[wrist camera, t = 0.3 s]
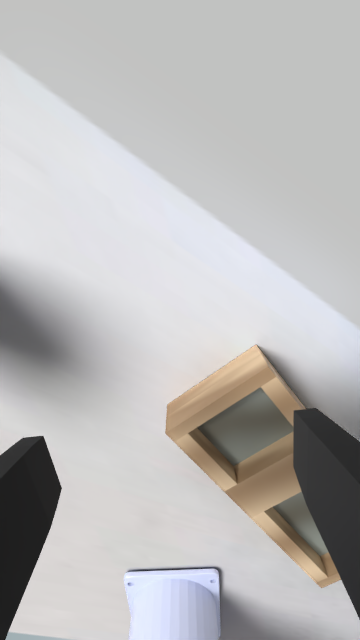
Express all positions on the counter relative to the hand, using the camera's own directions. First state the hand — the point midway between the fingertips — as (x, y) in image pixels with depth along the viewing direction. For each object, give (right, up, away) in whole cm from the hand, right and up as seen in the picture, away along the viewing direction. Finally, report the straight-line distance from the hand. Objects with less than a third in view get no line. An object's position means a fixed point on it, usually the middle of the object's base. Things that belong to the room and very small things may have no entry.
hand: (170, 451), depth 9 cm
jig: (+8, -6, +13) cm, 16 cm away
